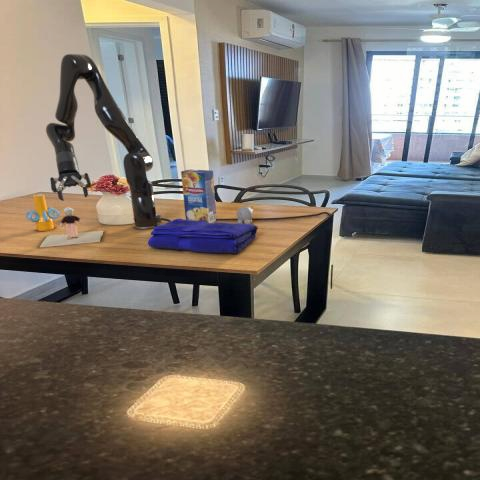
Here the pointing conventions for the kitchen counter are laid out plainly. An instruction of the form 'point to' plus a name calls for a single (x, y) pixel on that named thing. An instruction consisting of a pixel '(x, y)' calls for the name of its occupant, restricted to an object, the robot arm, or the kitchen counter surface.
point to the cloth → (62, 239)
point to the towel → (202, 236)
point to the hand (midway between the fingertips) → (74, 198)
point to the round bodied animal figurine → (245, 215)
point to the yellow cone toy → (42, 214)
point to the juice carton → (199, 195)
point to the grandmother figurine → (70, 223)
